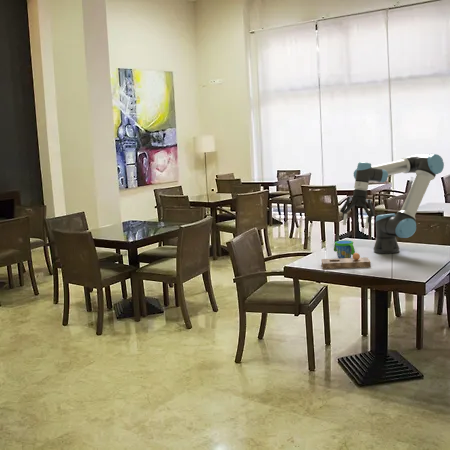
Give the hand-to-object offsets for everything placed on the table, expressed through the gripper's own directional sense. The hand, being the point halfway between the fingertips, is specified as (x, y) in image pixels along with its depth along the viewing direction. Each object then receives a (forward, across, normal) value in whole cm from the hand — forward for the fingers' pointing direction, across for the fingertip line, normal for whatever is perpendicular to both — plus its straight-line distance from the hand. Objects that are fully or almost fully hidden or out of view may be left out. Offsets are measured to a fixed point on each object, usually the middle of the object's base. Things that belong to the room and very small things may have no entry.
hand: (355, 226), depth 330 cm
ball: (+16, +5, -4) cm, 17 cm away
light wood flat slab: (+22, 0, -6) cm, 23 cm away
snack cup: (+20, -8, +11) cm, 24 cm away
